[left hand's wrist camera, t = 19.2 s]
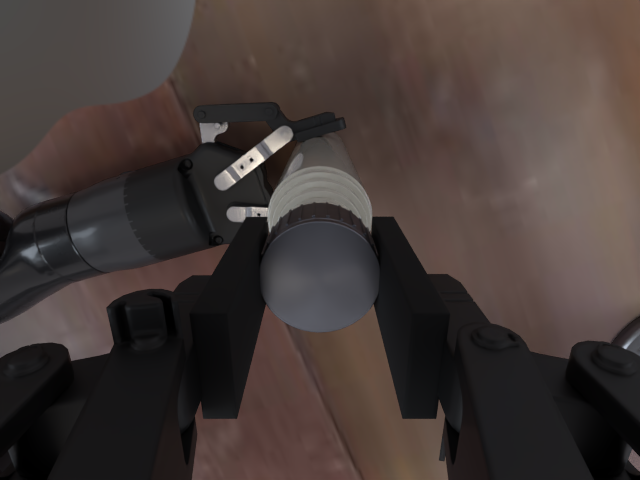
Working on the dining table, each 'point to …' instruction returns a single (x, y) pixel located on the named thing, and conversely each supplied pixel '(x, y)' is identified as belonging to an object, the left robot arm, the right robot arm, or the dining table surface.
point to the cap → (319, 268)
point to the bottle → (320, 180)
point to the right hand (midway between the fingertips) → (352, 158)
